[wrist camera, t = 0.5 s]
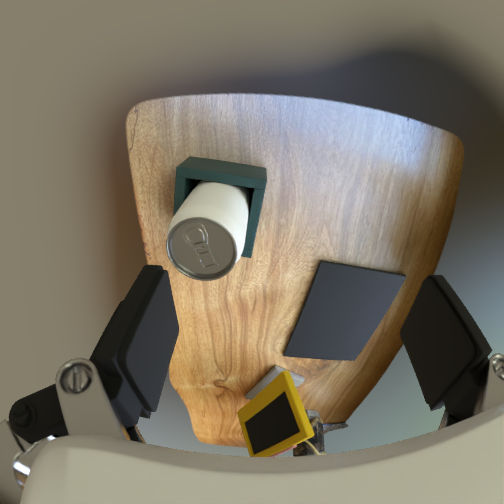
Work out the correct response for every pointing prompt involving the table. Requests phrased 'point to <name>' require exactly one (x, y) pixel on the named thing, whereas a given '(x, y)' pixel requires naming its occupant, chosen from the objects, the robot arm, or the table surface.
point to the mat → (342, 311)
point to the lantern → (312, 438)
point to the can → (209, 230)
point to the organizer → (228, 175)
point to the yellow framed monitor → (274, 415)
